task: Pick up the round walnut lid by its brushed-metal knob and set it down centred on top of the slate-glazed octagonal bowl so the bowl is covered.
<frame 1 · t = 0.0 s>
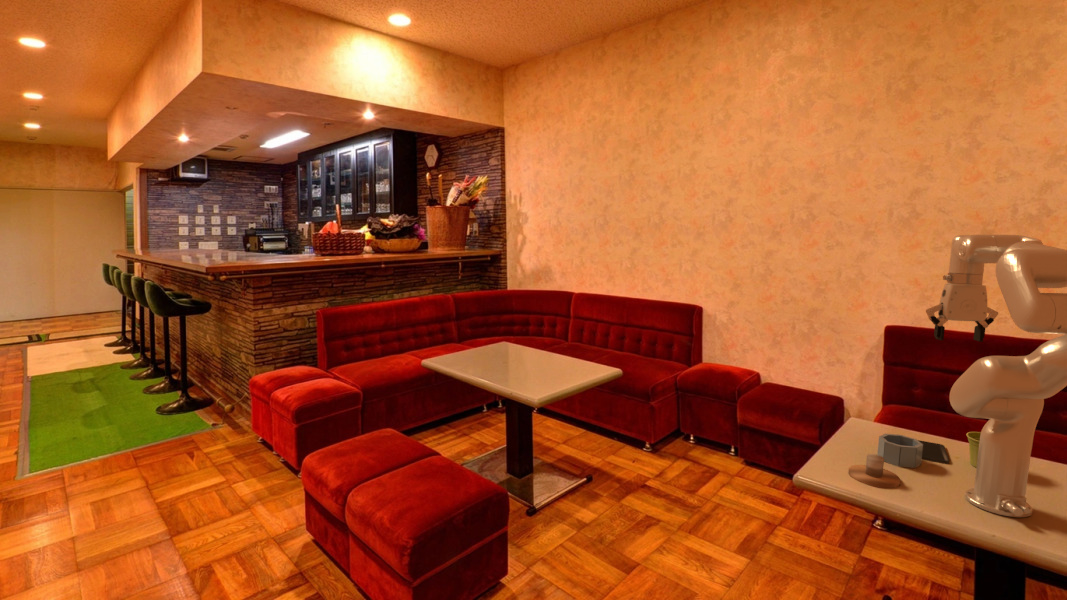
hand: (958, 340, 151), 37 cm above the table, tool pointing down, fingers open, 9 cm apart
lid: (873, 478, 147), on the table
phone: (930, 454, 163), on the table
plant pot: (983, 467, 154), on the table
bowl: (898, 459, 158), on the table
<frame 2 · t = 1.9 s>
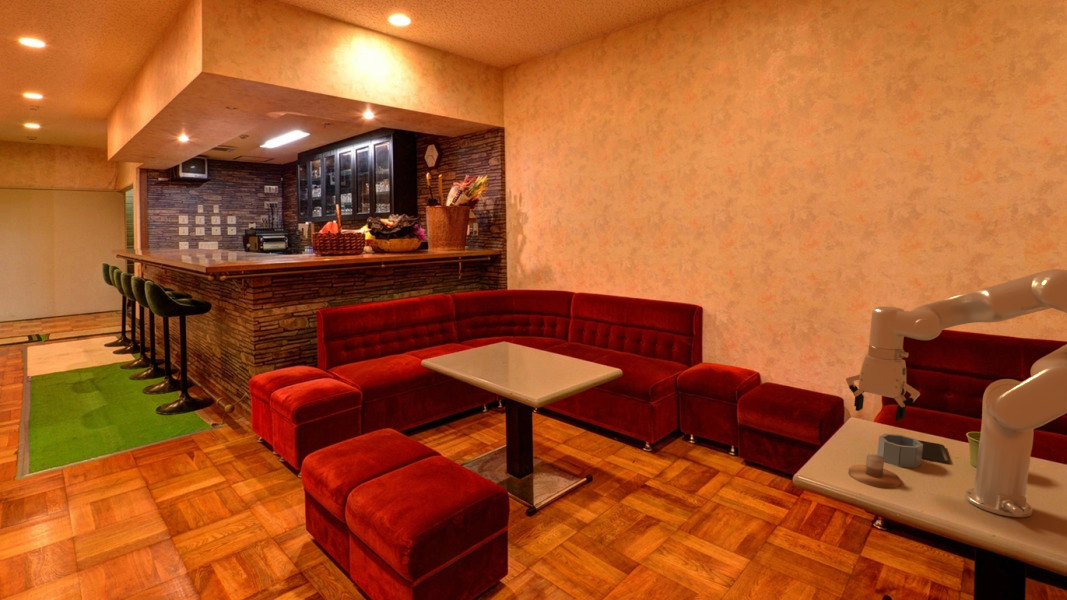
hand: (878, 414, 145), 18 cm above the table, tool pointing down, fingers open, 9 cm apart
nothing on the table moved.
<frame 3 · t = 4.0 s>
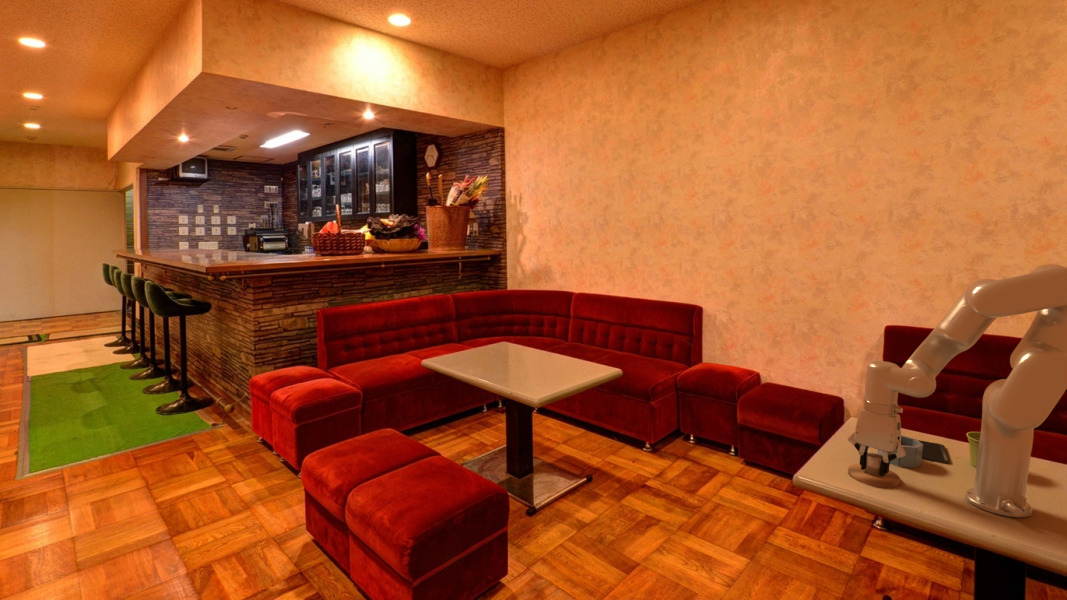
hand: (873, 470, 147), 2 cm above the table, tool pointing down, fingers closed on lid, 4 cm apart
lid: (873, 477, 147), on the table, touching gripper
everything else where it was.
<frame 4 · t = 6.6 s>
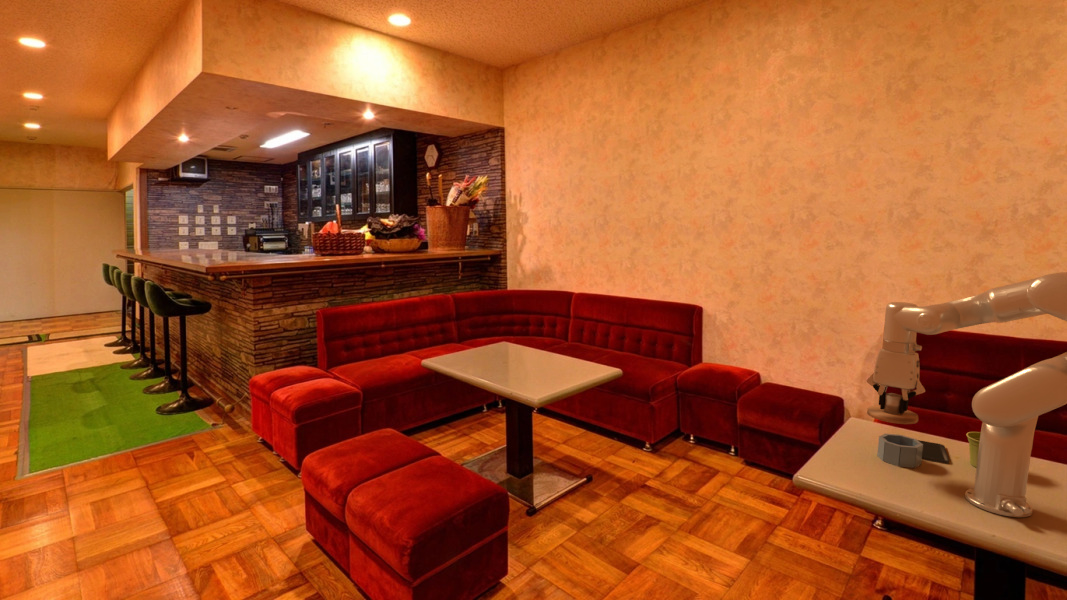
hand: (892, 409, 150), 17 cm above the table, tool pointing down, fingers closed on lid, 4 cm apart
lid: (892, 416, 151), point 15 cm above the table, touching gripper
everything else where it was.
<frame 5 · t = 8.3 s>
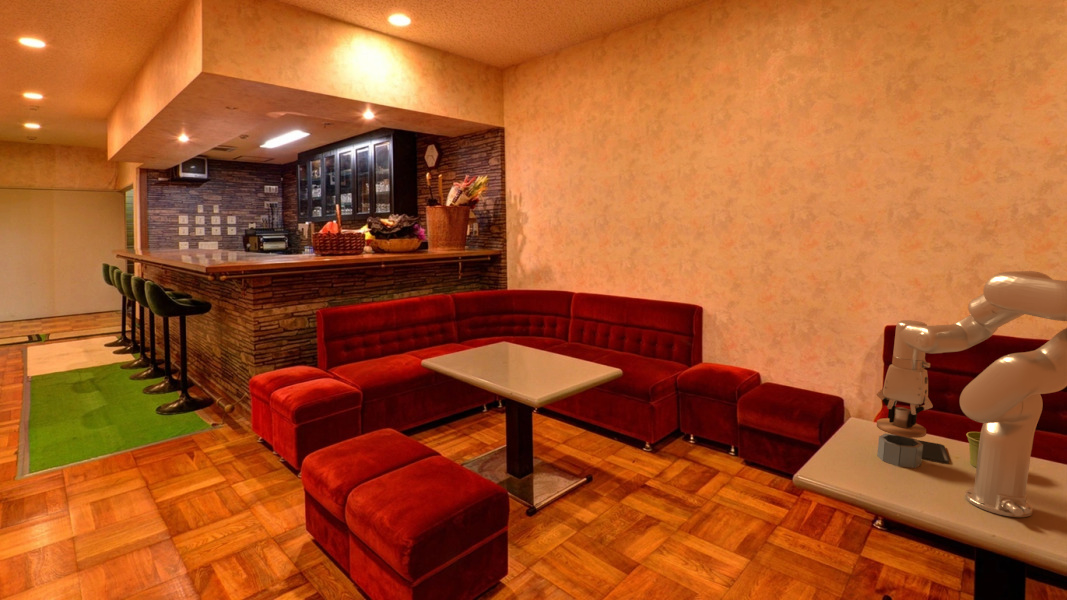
hand: (901, 423, 157), 11 cm above the table, tool pointing down, fingers closed on lid, 4 cm apart
lid: (900, 429, 157), point 9 cm above the table, touching gripper
everything else where it was.
when the fingers open (9 cm above the table, at t = 9.5 s): lid stays where it is, resting on bowl.
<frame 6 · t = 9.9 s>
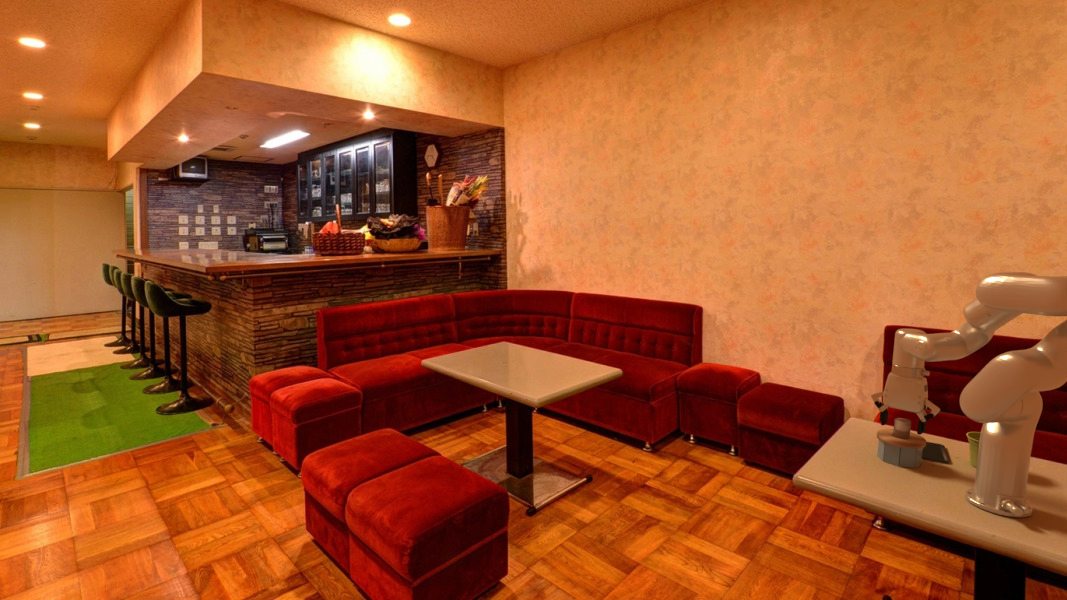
hand: (901, 428, 157), 10 cm above the table, tool pointing down, fingers open, 8 cm apart
lid: (900, 440, 157), point 6 cm above the table, touching bowl
everything else where it was.
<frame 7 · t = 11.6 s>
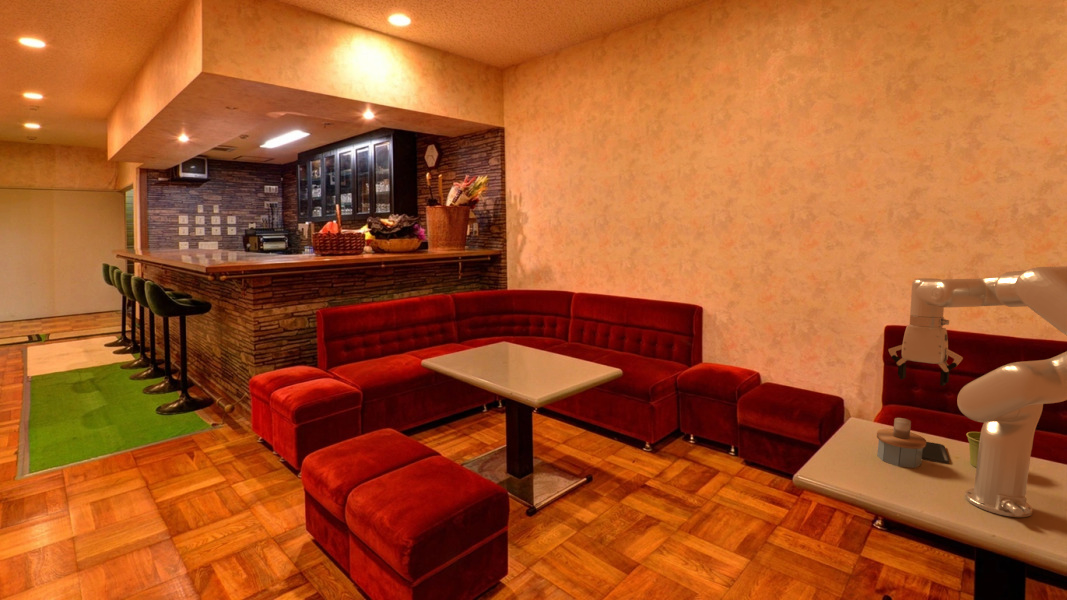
hand: (922, 381, 152), 25 cm above the table, tool pointing down, fingers open, 9 cm apart
nothing on the table moved.
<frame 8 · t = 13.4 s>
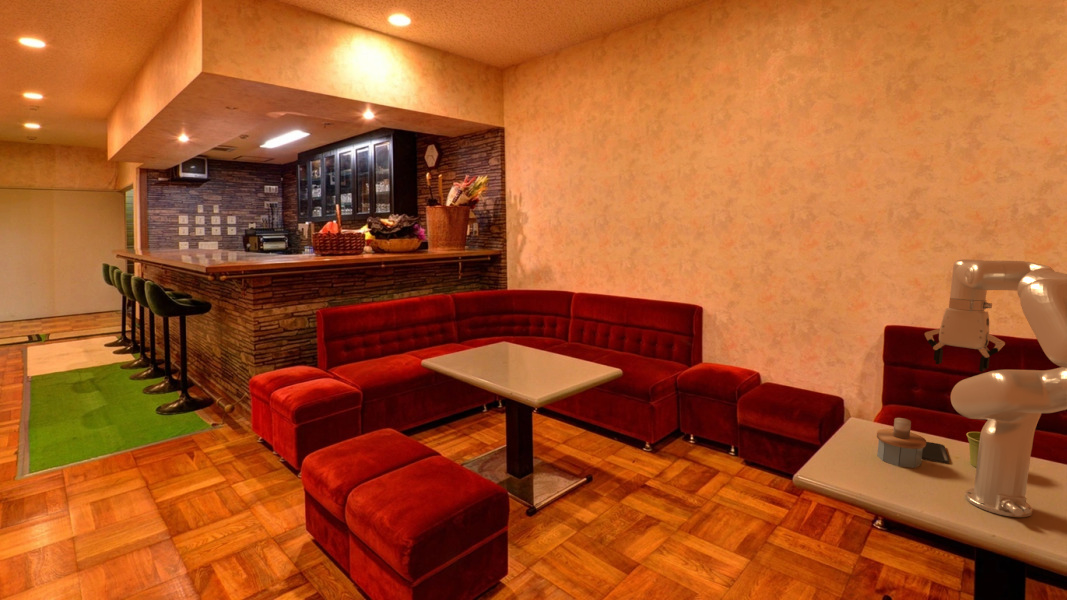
hand: (959, 367, 146), 30 cm above the table, tool pointing down, fingers open, 9 cm apart
nothing on the table moved.
at the end: lid 0.0 cm off-centre on the bowl, point 6.0 cm above the bowl's base; lid tilted 0°; the gripper is holding nothing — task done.
